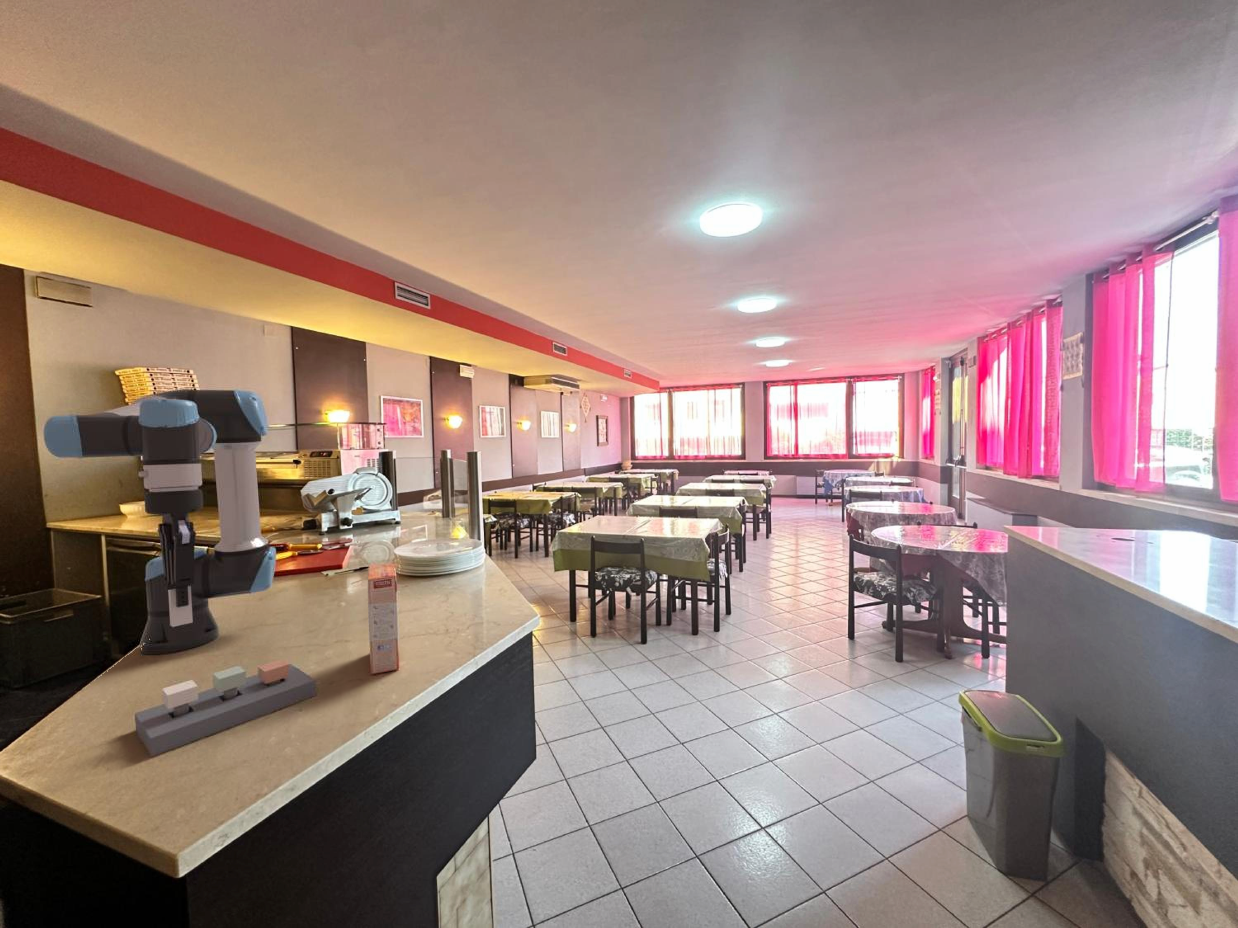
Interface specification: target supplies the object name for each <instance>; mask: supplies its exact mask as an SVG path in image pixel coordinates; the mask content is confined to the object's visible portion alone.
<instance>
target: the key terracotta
mask: <svg viewBox="0 0 1238 928" xmlns="http://www.w3.org/2000/svg"><path fill="white" fill-rule="evenodd" d="M289 664H290V663H287V662H286V661H284V660H283V659H278V660H274V661H271V662H268V663H265V664H261V665H258V666H257V674H258V678H259V679H260V680H261V681H262V682H264V683H265V684H267V683H268V686H270V685H273V684H276V683H279V682H280V679H282V678H285V677H288V676H289Z"/></svg>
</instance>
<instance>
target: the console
mask: <svg viewBox="0 0 1238 928" xmlns="http://www.w3.org/2000/svg"><path fill="white" fill-rule="evenodd" d="M288 664H289V676H288V677H285V678H282V679H280V682H279V683H276V684H273V685H270V686H268V683H267V684H265V683H264V682H262V681H261V680H260V679H259V678H258V673H257V674H254V675H251V676H246V684H244V685H241V686H238V687H237V697H235V698H232V699H229V700H226V701H224V693H223V692H219V691H218V690H217V689H216V688H215V687H213V688H210V689H207V690H204V691H200V692H198V700H195V701H192V702H189V713H187V714H184V715H181V716H178V717H175V718H174V710H173V708H171V709H168V708H167V707H166V706H165V704H164V703H162V704H159V705H156V706H153V707H149V708H147V709H144V710H141V711H137V712H134V721H135V731H136V733H137V735H138V736H139V738H140V740H141V741H142V742H143V744H144V746H145V748H146V750H147V752H148V754H149V755H150V757H155V756H158V755H160V754H163V753H165V752H168V751H170V750H173V749H176V748H179V747H181V746H184V745H187V744H189V743H192V742H195V741H197V740H201V739H203V738H205V737H207V736H208V737H209V736H211V735H213V734H215V733H216V734H217V733H219V732H222V731H224V730H226V729H231V728H232V727H234V726H237V725H240V724H243V723H245V722H249V721H252V720H253V719H257V718H259V717H262V716H265V715H267V714H270V713H273V712H275V711H277V710H279V709H280V710H281V709H282V708H283V709H284V708H286V707H288V706H290V705H293V704H297V703H299V702H302V701H304V700H306V699H309V698H312V697H314V696H317V682H316V679H315V678H313V677H311V676H310V675H309V674H307V673H306V672H304V671H302V670H301V669H300V668H298V667H296V666H295V665H293V664H291V663H288Z"/></svg>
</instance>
